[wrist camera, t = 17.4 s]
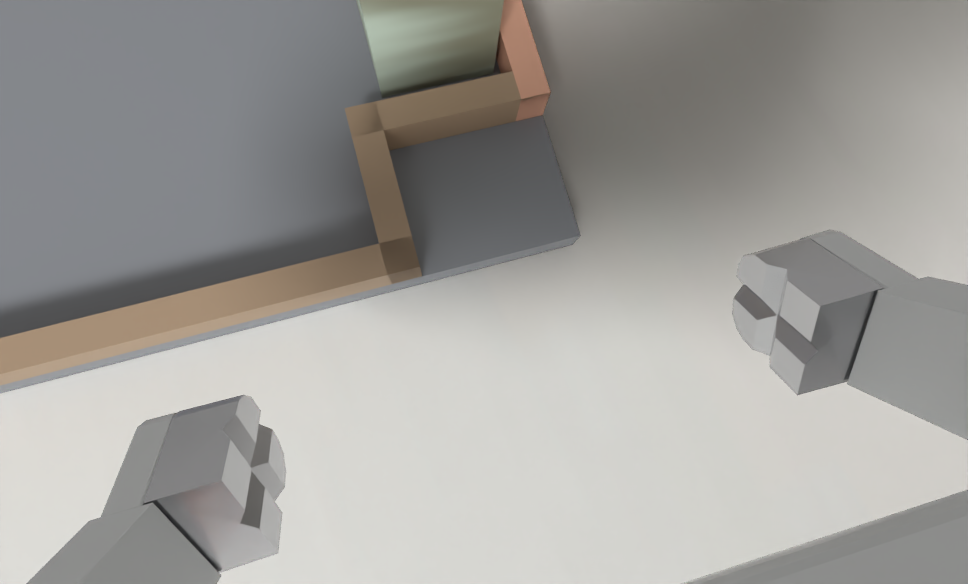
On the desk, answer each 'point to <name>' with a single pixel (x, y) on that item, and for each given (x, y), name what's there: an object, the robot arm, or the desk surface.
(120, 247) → the keyhole dock
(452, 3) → the green peg
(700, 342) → the desk surface
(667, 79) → the desk surface
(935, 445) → the desk surface
